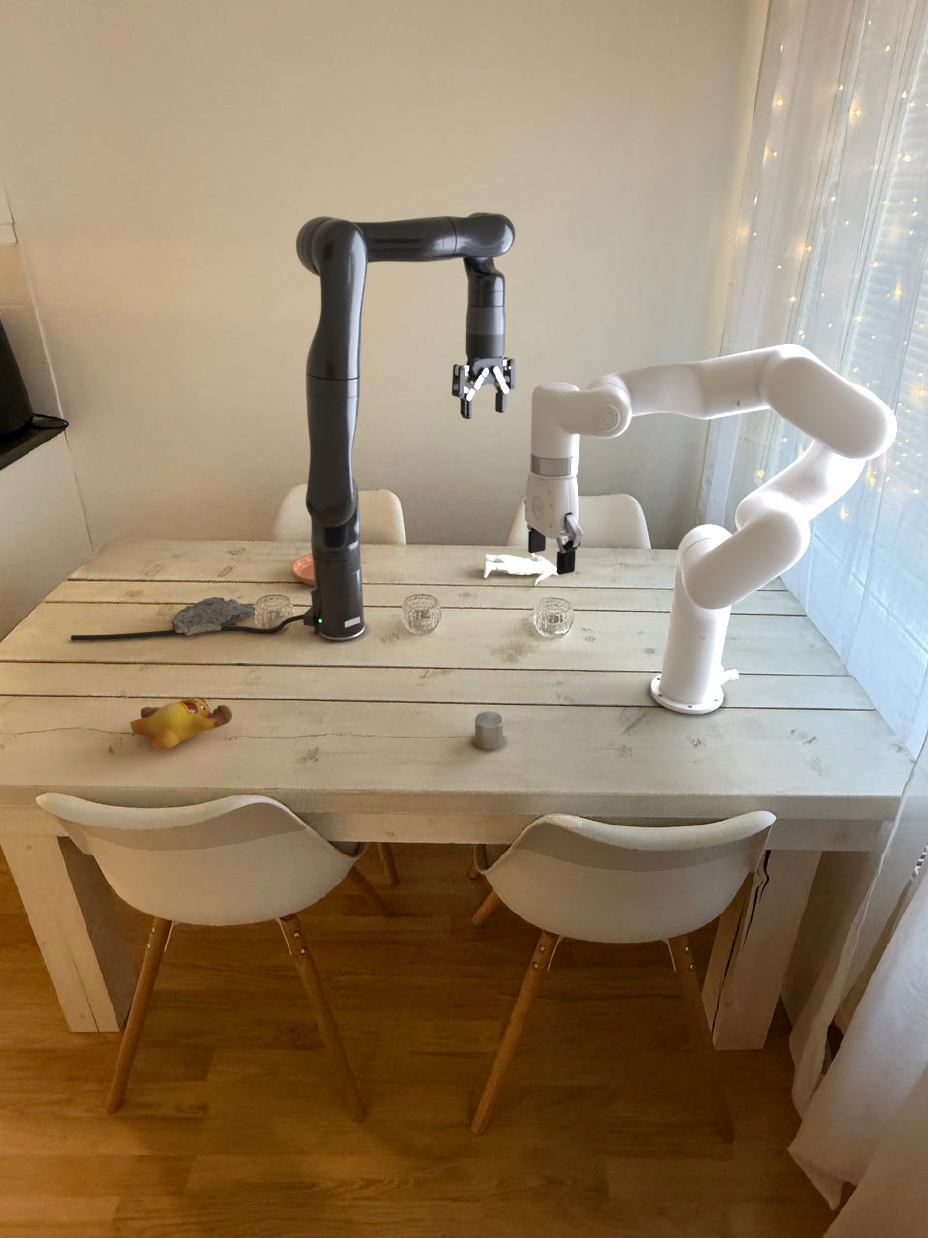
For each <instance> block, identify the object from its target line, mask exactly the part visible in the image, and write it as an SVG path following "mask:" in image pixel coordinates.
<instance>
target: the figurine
mask: <svg viewBox="0 0 928 1238" xmlns="http://www.w3.org/2000/svg"><path fill="white" fill-rule="evenodd" d="M532 559H534V560H535V561H532ZM556 567H557V566H555V565H553V564H552V563H551V562H550V561H549V560H548V559H546V558H545V557H543V556H541V555H535V553H530V558H528V557H527V558H526V557H525V558H522V557H519V556H514V555H509V554H501V555H492V554H485V556H484V561H483V578H484V579H487V578H488V576H489V574H490V572H492V571H496V570H497V571H502V573H506V574H510V575H511V574H512V575H518V576H519V575H522V576H523V575H527V576H529V575H532V574H540V575H539V577H537V578H536V579H535V582H534V586H536V585H537V584H538V582H539V581H543V580H545V579H546V578H547V577H549V576H552V575H555V576H559V575H558V574H557V573H556Z"/></svg>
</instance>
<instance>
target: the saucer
mask: <svg viewBox="0 0 928 1238" xmlns="http://www.w3.org/2000/svg"><path fill="white" fill-rule="evenodd" d="M361 566H362V563H361ZM290 572H291V575H292V576H293V577H294V578H295V579H297V580H298V581H299V582H301V583H302V584H304V585H306V586H308V587H312V588H313V587H314V588H315V582H314V570H313V559H312V552H311V553H308V554H305V555H302V556H300V557H298V558H296V559H294V561H293V562H292V563H291V565H290Z"/></svg>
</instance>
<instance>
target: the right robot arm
mask: <svg viewBox="0 0 928 1238" xmlns="http://www.w3.org/2000/svg"><path fill="white" fill-rule="evenodd" d="M766 409H771V410H772V412H774V413H775V414H776V415H777V416H779V417H780V418H781V419H783V420H784V421H786V422H788V423H789V424H790V425H791V426H793V427H794V428H796V430H798V431H800V432H802V433H803V434H805V435H806V436H808V437H810V438H811V439H813V440H812V442H810V445H809V447H807V449H806V450H805V452H804V453H802V455H801V456H800V457H798V458H797V459H796V460H795V461H794V462H793V463H791V464H790V465H789V466H787V467H786V468H785V469H784V470H782V471H780V473H778V474H777V475H775V476H774V477H772V478H770V479H769V480H768V481H767V482H765V483H763V484H762V485H761V486H760V487H758V488H757V489H755V490H754V491H752V492H750V494H749V495H747V496H746V497H745V498H743V499H742V501H740V503H739V504H738V505H737V508H736V511H735V515H734V518H735V526H736V529H737V531H735V532H734V533H733V534H731V533H730V532H729V531H727V530H726V529H725V528H723V527H721V526H718V525H715V524H703V525H699V526H696V527H694V528H693V529H691V530H689V531H688V533H686V534H685V535H684V536H683V538H682V539H681V541H680V543H679V545H678V548H677V552H676V557H675V558H676V559H675V569H674V571H675V572H674V580H673V581H674V582H673V591H672V599H671V600H672V601H671V607H670V612H669V619H668V625H667V633H666V639H665V645H664V646H665V647H664V652H663V660H662V666H661V673H660V674H657V675H656V676H655V677H654V678H653V679H652V681H651V683H650V687H649V692H650V695H651V697H652V698H653V699H654V700H655V701H656V702H657V703H658V704H660V705H661V706H662V707H664V708H666V709H668V710H672V711H674V712H678V713H681V714H686V715H702V714H708V713H711V712H713V711H715V710H717V709H719V707H720V706H721V705H722V703H723V699H724V691H723V689H722V687H721V686H724V684H725V683H730V682H734V681H738V680H739V676H740V675H739V672H738V671H737V670H736V669H731V670H727V671H725V672H724V667H723V666H722V665H721V661H722V655H723V650H724V649H723V648H724V643H725V640H726V639H725V638H726V633H727V629H728V628H727V627H728V625H729V618H730V614H731V609H732V608H731V607H732V606H733V605H735V604H737V603H739V602H741V601H742V600H744V599H745V598H747V597H749V596H750V595H751V594H754V593H755V592H756V591H758V590H759V589H761V588H762V587H764V586H765V585H766V584H768V583H769V582H771V581H772V580H774V579H775V578H777V577H779V576H780V575H782V574H783V573H784V572H786V571H788V570H789V569H790V568H791V567H793V566H794V565H795V564H796V563H797V562H798V561H799V560H800V559H801V558H802V556H803V555H804V553H805V552H806V550H807V548H808V546H809V543H810V538H811V531H810V525H809V523H808V522H809V521H811V520H812V519H813V518H815V517H816V516H818V514H820V513H822V512H823V511H824V510H825V509H826V508H828V507H829V506H831V505H832V504H833V503H834V502H836V501H838V499H839V498H840V497H842V496H843V495H845V494H846V492H847V491H848V490H849V489H850V488H851V487H852V486H853V484H854V483H856V480H858V477H859V476H860V474H861V473H862V471H863V468H864V466H865V463H866V462H867V461H868V460H872V459H874V458H877V457H879V456H880V455H882V454H883V453H885V452H886V451H887V450H888V449H889V447H891V445H892V444H893V442H894V440H895V438H896V434H897V419H896V416H895V415H894V413H893V411H892V410H891V409H890V407H889V406H888V405H886V403H884V402H883V401H882V400H881V399H879V397H877V395H876V394H874V393H873V392H872V391H870V390H869V389H867V388H866V387H864V386H861V385H859V384H855V383H851V382H850V381H848V380H847V379H845V378H844V377H842V376H840V375H839V374H838V373H836V372H835V371H834V370H832V369H831V368H830V367H828V366H827V365H826V364H825V363H823V362H822V361H821V360H819V359H818V358H817V357H816V356H815V355H814V354H813V353H812V352H811V351H809V350H808V349H806V348H805V347H803V346H801V345H798V344H781V345H774V346H770V347H765V348H759V349H754V350H750V351H744V352H740V353H733V354H730V355H725V356H719V357H714V358H708V359H704V360H697V361H686V362H685V361H684V362H677V363H669V364H668V363H667V364H655V365H647V366H642V367H637V368H632V369H626V370H622V371H616V372H612V373H608V374H603V375H601V376H599V377H597V378H594V379H593V380H592V381H591V382H590V383H589V384H588V385H587V387H586V388H585V390H580V388H579V387H578V386H577V385H575V384H573V383H569V382H562V381H551V382H544V383H540V384H538V385H537V386H535V388H533V391H532V394H531V417H530V418H531V419H530V420H531V421H530V423H531V424H530V465H529V471H528V476H527V480H526V481H527V483H526V490H525V491H526V492H525V499H524V520H525V522H526V529H527V533H528V534H527V535H528V536H527V552H528V553H529V554H532V553H534V554H536V553H540V552H544V551H546V550H547V549H546V548H547V538H548V539H549V540H554V539H555V540H556V545H557V547H558V551H556V566H555V567H556V573H557V574H558V575H557V576H562V575H567V574H571V573H574V572H575V570H576V554H577V551H578V550H579V547H580V546H581V541H582V538H584V537H583V536H584V532H583V530H582V529H581V527H580V525H579V524H578V522H579V494H578V493H579V492H578V491H579V490H578V480H577V475H578V469H579V468H578V467H579V452H580V451H579V447H580V436H583V437H588V438H592V439H593V438H594V439H599V440H608V439H609V440H610V439H614V438H616V437H619V436H621V435H622V434H623V433H624V432H625V431H626V430H627V428H628V427H629V425H630V423H631V419H632V417H639V416H644V415H651V414H661V413H662V414H663V413H664V414H666V413H667V414H677V415H681V416H685V417H688V418H691V419H695V420H696V419H697V420H710V419H711V420H712V419H716V418H717V419H718V418H721V417H727V416H732V415H737V414H744V413H749V412H754V411H760V410H766ZM566 538H567V539H568V540H567V541H566V542H564V539H566Z"/></svg>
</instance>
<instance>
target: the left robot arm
mask: <svg viewBox="0 0 928 1238" xmlns="http://www.w3.org/2000/svg"><path fill="white" fill-rule="evenodd" d="M515 240H516V228H515V225H514V223H513V222H512V220H511V219H510V218H509V217H507V216H506V215H504V214H503V213H498V212H485V211H484V212H483V211H476V212H473V213H470V214H469V215H468V216H456V215H455V216H454V215H440V216H428V217H427V216H426V217H416V218H410V219H409V218H408V219H400V220H399V219H398V220H388V221H365V222H364V221H362V222H361V221H350V220H349V219H343V218H338V217H333V216H326V215H325V216H323V215H322V216H317V217H313V218H311V219H309V220H308V221H306V222H305V223H304V224H303V225H302V226H301V228H300V229H299V231H298V233H297V235H296V240H295V251H296V255H297V258H298V261H299V262H300V263H301V265H302V266H303V267H304V268H305V269H306V270H307V271H308V272H310V273H311V274H313V275H315V276H316V277H319V285H320V286H319V287H320V313H319V319H318V323H317V327H316V329H315V333H314V335H313V337H312V340H311V343H310V347H309V349H308V352H307V357H306V361H305V362H306V363H305V397H306V398H305V401H306V416H307V430H308V440H309V452H310V453H309V466H308V477H307V486H306V487H307V488H306V494H305V507H306V510H307V513H308V514H309V516H310V521H311V536H310V546H311V547H310V548H311V553H312V559H313V570H314V582H315V587H314V588H313V589H312V590H311V591H310V597H311V606H310V608H308V610H307V611H305V612H304V613H302V614H297V615H293V616H291V617H288V618H285V619H284V620H283V621H281V622H280V623H279V624H278V625H277V626H275V627H271V628H258V627H251V626H245V625H227V626H224V627H223V628H222V629H221V630H218V631H207V632H206V633H215V632H245V633H246V632H247V633H253V634H262V635H263V634H264V635H267V634H269V635H270V634H274V633H278V632H280V631H282V630H283V628H284V627H286V625H288V624H291V623H294V622H297V621H302V622H303V626H306V627H311V628H313V629H314V634H315V635H318V636H320V637H321V638H323V639H325V640H328V641H331V642H332V641H333V642H345V641H346V642H347V641H351V640H355V639H358V638H359V637H360V636H362V635H363V634H364V633H365V631H366V623H365V613H364V612H365V610H364V594H363V593H364V592H363V575H362V574H363V573H362V565H361V564H362V560H361V523H360V521H361V520H360V519H361V518H360V499H359V489H358V484H357V482H356V480H355V478H354V477H353V447H354V441H355V435H356V430H357V423H358V415H359V407H360V398H361V397H360V395H361V345H362V343H361V342H362V314H363V305H364V296H365V288H366V281H367V273H368V264H370V263H371V264H372V263H387V262H389V263H433V262H444V261H451V260H455V259H462V261H463V266H464V271H465V274H466V278H467V296H466V297H467V302H466V307H467V308H466V314H465V355H466V358H467V360H466V363H465V364H457V363H455V364H454V365H453V366H452V381H451V396H452V397H456V398H459V401H460V415H461V416H462V418H463V419H465V420H471V419H472V418H473V400H472V398H473V396H474V395H475V393H476V392H477V391H478V390H479V389H480V387H483V386H487V385H492V386H493V387H494V389H495V390H496V392H495V395H494V396H495V397H494V398H495V399H494V401H495V403H494V404H495V405H494V407H495V408H494V411H495V412H496V413H499V414H503V413H505V411H506V409H507V397H508V396H507V395H508V393H509V392H510V391H511V390H515V389H516V360H515V358H512V357H507V356H504V355H505V351H506V318H507V317H506V305H505V304H506V277H505V274H504V273H503V272H501V271H500V270H499V269H497V268H496V265H495V260H494V258H499V257H501V256H504V255H505V254H507V253H508V252H509V251H510V250H511V249H512V247H513V246H514V244H515ZM503 356H504V357H503ZM501 372H502V373H501ZM174 635H184V634H183V633H177V632H175V629H165V630H155V631H142V632H130V633H129V632H127V633H112V634H111V633H110V634H72V635H70V640H71V641H102V640H103V641H104V640H105V641H107V640H126V639H138V638H140V639H141V638H151V637H162V636H174Z"/></svg>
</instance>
